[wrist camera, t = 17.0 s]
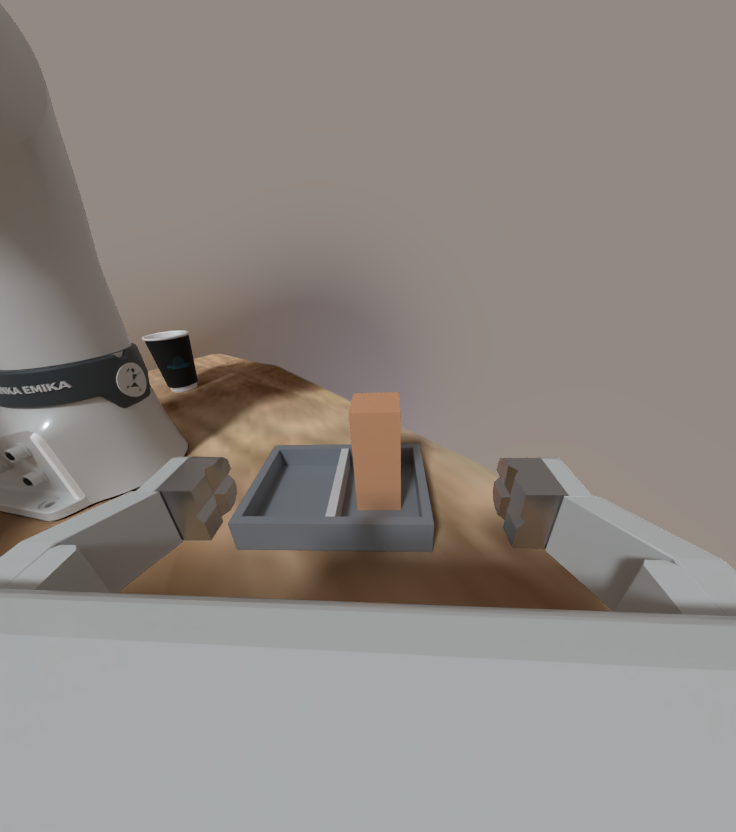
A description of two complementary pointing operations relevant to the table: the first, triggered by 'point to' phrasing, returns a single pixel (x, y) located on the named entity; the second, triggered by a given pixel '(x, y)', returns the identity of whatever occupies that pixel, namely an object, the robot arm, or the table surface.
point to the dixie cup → (173, 358)
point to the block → (376, 450)
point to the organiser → (330, 505)
